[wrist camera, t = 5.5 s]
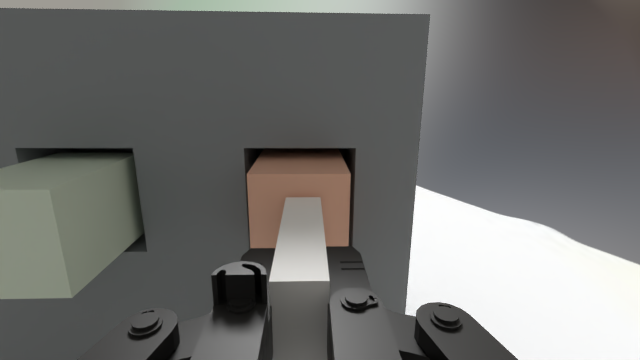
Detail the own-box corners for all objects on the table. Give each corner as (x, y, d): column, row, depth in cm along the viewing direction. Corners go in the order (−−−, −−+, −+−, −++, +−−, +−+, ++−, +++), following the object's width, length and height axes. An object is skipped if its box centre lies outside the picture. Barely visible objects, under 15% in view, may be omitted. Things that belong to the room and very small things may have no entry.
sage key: (-46, 299, 13) (-81, 190, 12) (73, 227, 20) (58, 152, 19) (72, 298, 13) (49, 189, 12) (150, 226, 20) (140, 152, 19)
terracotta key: (251, 267, 16) (246, 174, 14) (268, 213, 22) (265, 145, 21) (347, 266, 16) (350, 173, 15) (335, 212, 23) (336, 145, 21)
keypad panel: (-185, 385, 20) (-367, 2, 15) (-48, 301, 28) (-133, 31, 22) (400, 370, 21) (429, 14, 16) (375, 294, 29) (389, 37, 23)
